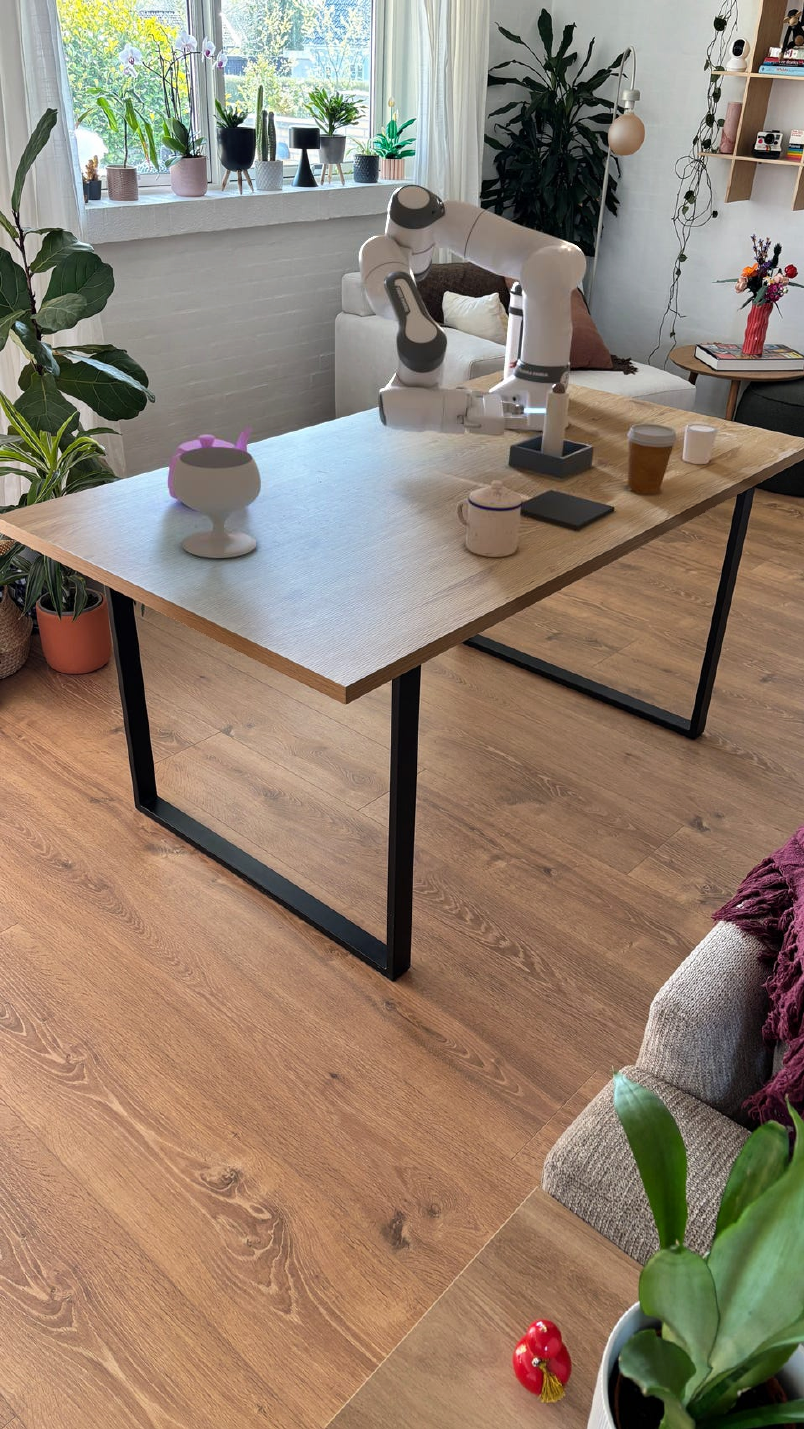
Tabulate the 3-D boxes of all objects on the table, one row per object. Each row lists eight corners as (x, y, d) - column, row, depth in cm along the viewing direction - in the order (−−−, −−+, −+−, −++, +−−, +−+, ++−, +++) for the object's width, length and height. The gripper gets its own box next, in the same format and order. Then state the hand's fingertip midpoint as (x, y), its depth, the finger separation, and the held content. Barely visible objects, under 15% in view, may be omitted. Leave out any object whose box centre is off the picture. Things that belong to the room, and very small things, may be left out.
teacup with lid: (527, 548, 186) (534, 481, 180) (499, 562, 179) (505, 494, 173) (469, 530, 192) (474, 466, 186) (439, 544, 185) (444, 478, 180)
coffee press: (565, 390, 286) (579, 268, 271) (538, 401, 274) (552, 274, 259) (507, 379, 293) (517, 260, 278) (478, 390, 281) (488, 266, 266)
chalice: (213, 525, 188) (209, 439, 181) (279, 543, 183) (277, 455, 175) (159, 549, 178) (152, 459, 170) (226, 569, 172) (223, 476, 164)
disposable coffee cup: (672, 487, 218) (682, 428, 212) (661, 500, 211) (672, 439, 205) (626, 479, 221) (635, 420, 215) (613, 492, 214) (622, 431, 208)
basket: (508, 467, 225) (510, 445, 223) (539, 455, 234) (542, 433, 231) (560, 481, 218) (563, 458, 216) (591, 467, 227) (594, 446, 225)
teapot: (197, 520, 190) (193, 454, 184) (147, 502, 197) (142, 437, 191) (278, 494, 204) (277, 432, 198) (229, 478, 211) (226, 417, 205)
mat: (511, 512, 201) (511, 507, 201) (550, 494, 211) (550, 489, 210) (577, 531, 194) (577, 525, 194) (614, 511, 204) (615, 506, 203)
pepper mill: (535, 464, 225) (544, 382, 217) (546, 460, 228) (555, 379, 220) (553, 469, 223) (563, 386, 215) (564, 465, 226) (574, 382, 218)
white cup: (709, 456, 238) (715, 424, 235) (714, 466, 232) (720, 433, 229) (677, 454, 239) (683, 422, 235) (681, 463, 233) (687, 431, 229)
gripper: (459, 409, 210) (530, 413, 210) (458, 384, 228) (524, 388, 228) (456, 441, 214) (527, 445, 213) (456, 414, 231) (521, 418, 231)
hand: (525, 415), depth 221 cm, fingers open, 8 cm apart
